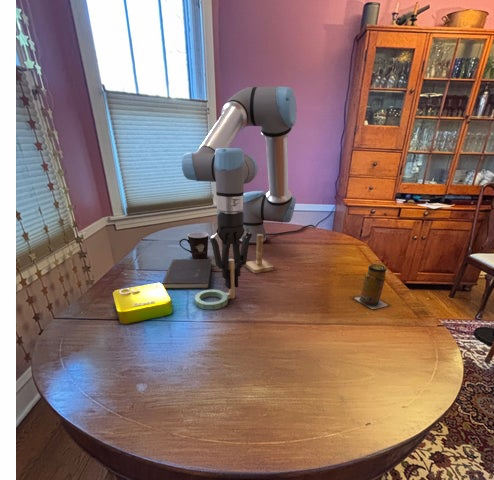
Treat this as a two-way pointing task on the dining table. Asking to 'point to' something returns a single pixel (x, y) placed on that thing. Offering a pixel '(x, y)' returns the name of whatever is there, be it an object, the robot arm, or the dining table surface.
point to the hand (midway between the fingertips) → (231, 286)
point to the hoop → (217, 293)
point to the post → (259, 259)
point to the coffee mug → (197, 244)
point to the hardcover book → (188, 274)
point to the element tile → (142, 303)
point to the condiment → (373, 287)
